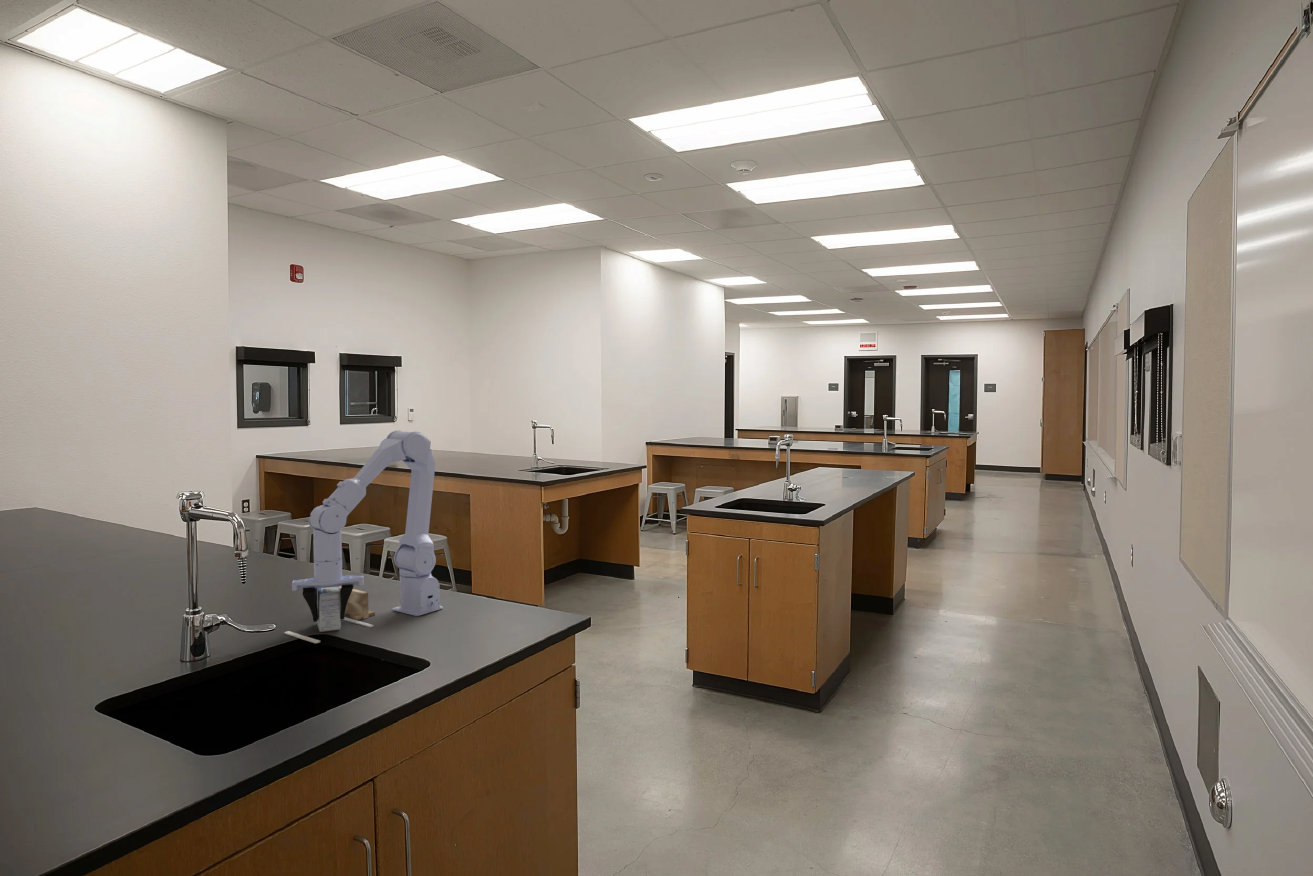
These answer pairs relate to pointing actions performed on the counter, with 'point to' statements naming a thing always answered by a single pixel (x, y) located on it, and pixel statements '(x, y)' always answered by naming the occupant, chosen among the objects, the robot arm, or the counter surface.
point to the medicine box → (329, 609)
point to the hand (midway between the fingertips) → (329, 619)
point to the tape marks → (318, 640)
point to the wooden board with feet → (358, 605)
